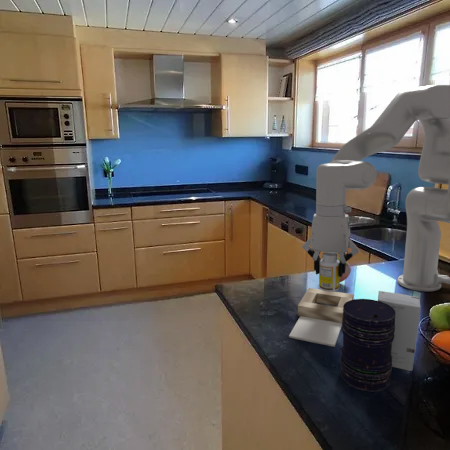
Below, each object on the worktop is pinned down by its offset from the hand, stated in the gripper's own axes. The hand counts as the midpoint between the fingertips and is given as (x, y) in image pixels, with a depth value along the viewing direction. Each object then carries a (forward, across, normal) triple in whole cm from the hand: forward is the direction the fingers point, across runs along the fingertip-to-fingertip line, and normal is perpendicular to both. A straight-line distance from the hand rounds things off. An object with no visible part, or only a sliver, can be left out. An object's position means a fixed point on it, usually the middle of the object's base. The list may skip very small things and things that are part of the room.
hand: (329, 273), depth 103 cm
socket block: (+11, +1, 0) cm, 11 cm away
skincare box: (+11, -17, +20) cm, 28 cm away
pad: (+11, +1, +14) cm, 17 cm away
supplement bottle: (+5, 0, 0) cm, 5 cm away
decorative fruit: (+11, +2, -20) cm, 23 cm away
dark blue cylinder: (+11, -12, +28) cm, 32 cm away
